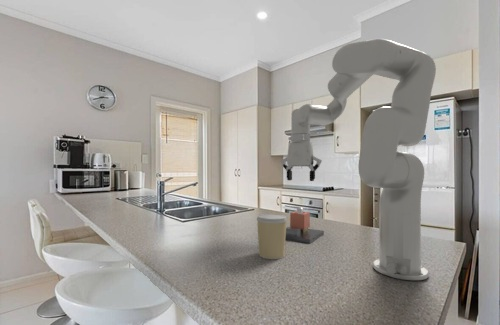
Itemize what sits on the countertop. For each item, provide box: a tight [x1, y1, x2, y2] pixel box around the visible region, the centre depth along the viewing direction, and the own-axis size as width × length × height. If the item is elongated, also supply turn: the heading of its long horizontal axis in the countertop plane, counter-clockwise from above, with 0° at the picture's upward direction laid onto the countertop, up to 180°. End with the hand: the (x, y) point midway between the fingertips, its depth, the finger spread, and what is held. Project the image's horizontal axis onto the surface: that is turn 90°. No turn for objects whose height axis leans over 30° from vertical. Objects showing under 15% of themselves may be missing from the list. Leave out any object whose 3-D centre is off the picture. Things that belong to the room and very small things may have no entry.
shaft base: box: [285, 206, 325, 244], centre depth 103 cm, size 16×13×11 cm
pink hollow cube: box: [289, 210, 311, 230], centre depth 105 cm, size 6×6×6 cm
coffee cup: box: [256, 213, 288, 260], centre depth 80 cm, size 9×9×12 cm
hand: (300, 180), depth 106 cm, fingers open, 9 cm apart
